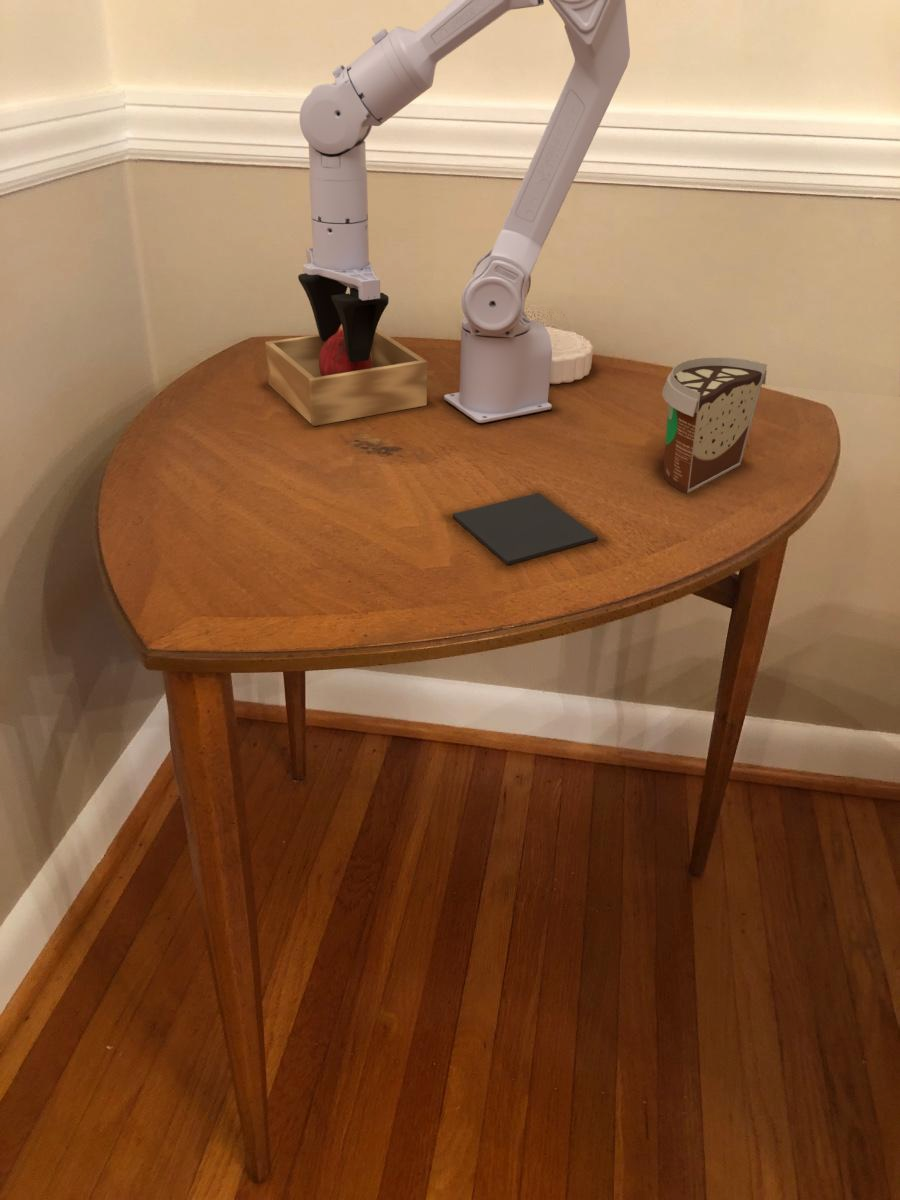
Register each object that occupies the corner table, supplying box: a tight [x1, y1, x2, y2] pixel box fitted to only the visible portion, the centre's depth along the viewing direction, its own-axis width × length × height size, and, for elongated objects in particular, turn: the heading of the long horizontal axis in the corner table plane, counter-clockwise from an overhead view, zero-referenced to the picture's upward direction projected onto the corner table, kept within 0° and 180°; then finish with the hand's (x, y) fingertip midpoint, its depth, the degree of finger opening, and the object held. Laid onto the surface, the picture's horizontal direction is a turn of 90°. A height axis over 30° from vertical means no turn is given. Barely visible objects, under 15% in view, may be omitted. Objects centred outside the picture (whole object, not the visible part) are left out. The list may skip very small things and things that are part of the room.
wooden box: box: [264, 328, 428, 427], centre depth 104 cm, size 13×13×5 cm
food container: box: [661, 356, 768, 494], centre depth 89 cm, size 12×6×10 cm, turn 135°
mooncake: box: [544, 326, 594, 385], centre depth 114 cm, size 12×12×4 cm
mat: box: [452, 492, 599, 566], centre depth 81 cm, size 9×9×1 cm
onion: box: [319, 324, 372, 376], centre depth 103 cm, size 6×6×8 cm
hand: (344, 349), depth 103 cm, fingers open, 7 cm apart
